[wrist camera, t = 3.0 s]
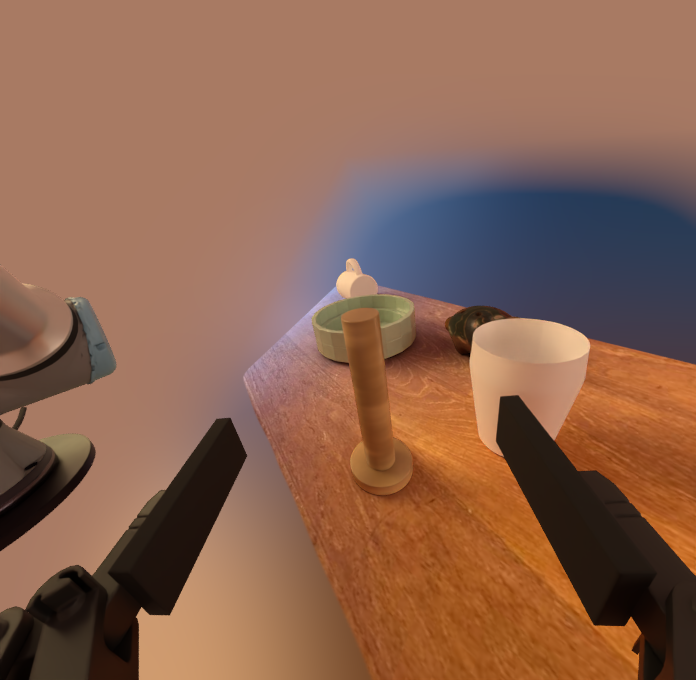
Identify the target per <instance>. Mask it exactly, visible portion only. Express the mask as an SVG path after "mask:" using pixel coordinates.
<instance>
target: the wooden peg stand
mask: <svg viewBox="0 0 696 680" xmlns="http://www.w3.org/2000/svg"><path fill="white" fill-rule="evenodd" d="M341 322H342V328H343V333H344V339H345V345H346V350H347V356H348V361H349V367H350V372H351V378H352V384H353V389H354V395H355V400H356V406H357V412H358V417H359V423H360V428H361V434H362V439H363V441H362V442H360V443H359V444H358V445H357V446H356V447H355V449H354V450H353V452H352V454H351V458H350V466H351V471H352V475H353V478H354V480H355V482H356V483H357V484H358V485H359V487H361V488H362V489H363V490H365V491H367V492H369V493H371V494H375V495H389V494H393V493H395V492H398V491H399V490H401V489H402V488H404V487H405V486H406V485H407V483H408V482H409V481H410V479H411V477H412V473H413V460H412V454H411V452H410V450H409V448H408V447H407V446H406V445H405V444H404V443H403V442H402V441H401V440H399V439H397V438H394V437H393V432H392V424H391V415H390V406H389V397H388V388H387V379H386V370H385V361H384V353H383V344H382V335H381V326H380V317H379V312H378V310H376V309H373V308H358V309H353V310H350V311H348V312H346V313H344V314H343V315H342V316H341Z"/></svg>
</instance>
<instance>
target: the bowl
mask: <svg viewBox="0 0 696 680" xmlns="http://www.w3.org/2000/svg"><path fill="white" fill-rule="evenodd" d="M358 308H373V309H376V310H378V312H379V317H380V326H381V335H382V344H383V353H384V359H386V358H389V357H391V356H394V355H396V354H398V353H400V352H402V351H404V350H405V349H406V348H408V347H409V346H410V345H412V343H413V341H414V339H415V338H416V325H415V308H414V304H413V302H411V301H410V300H409V299H407V298H404V297H400V296H396V295H387V294H373V295H364V296H357V297H352V298H347V299H343V300H340V301H337V302H334V303H331V304H329V305H327V306H325V307H323V308H322V309H320V310H319V311H317V312H316V313H315V314H314V316H313V317H312V324H313V329H314V333H315V337H316V342H317V346H318V351H319V352H320V353H321V354H323V355H324V356H325V357H327V358H329V359H332V360H335V361H339V362H346V363H349V361H348V356H347V350H346V345H345V339H344V333H343V328H342V322H341V316H342V315H343V314H344V313H346V312H348V311H350V310H353V309H358Z"/></svg>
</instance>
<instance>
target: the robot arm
mask: <svg viewBox="0 0 696 680" xmlns="http://www.w3.org/2000/svg"><path fill="white" fill-rule="evenodd" d="M115 369H116V361H115V358H114V355H113V352H112V350H111V347H110V345H109V343H108V340H107V338H106V336H105V334H104V331H103V329H102V327H101V325H100V323H99V321H98V319H97V317H96V315H95V313H94V311H93V308H92V306H91V305H90V303H89V301H88V300H87V299H85V298H82V297H78V298H72V297H71V298H67V299H65V300H63V299H62V298H61V297H59V296H58V295H56V294H55V293H53V292H51V291H49V290H46V289H44V288H41V287H38V286H34V285H29V284H22V283H21V282H20V281H19V280H18V279H17V278H15V277H14V276H13V275H12V274H11V273H10V272H9V271H7V270H6V269H5V268H4V267H3V266H2V265H0V415H2V414H4V413H6V412H9V411H12V410H15V409H18V408H20V407H21V409H20V411H19V415H18V418H17V420H16V422H15V424H14V425H13V427H12V428H10V427H8V426H7V425H5V423H3V421H2V420H1V419H0V519H1V518H2V517H4V516H5V515H6V514H8V513H9V512H11V511H12V510H13V509H15V508H16V507H17V506H19V505H20V504H21V503H23V502H24V501H25V500H26V499H28V498H29V497H30V496H31V495H32V494H33V493H34V492H36V491H37V490H38V489H39V488H40V487H41V486H42V485H43V484H44V483H45V482H46V481H47V479H48V478H49V477H50V476H51V475H52V473H53V472H54V470H55V469H56V467H57V465H58V461H59V458H58V455H57V454H56V453H55V452H54V450H53V449H52V448H51V447H49V446H48V445H46V444H45V443H43V442H40V441H38V440H36V439H34V438H32V437H30V436H28V435H25V434H23V433H21V432H19V431H17V430H18V429H19V427H20V425H21V424H22V422H23V419H24V417H25V414H26V410H27V407H23V406H26V405H29V404H32V403H34V402H37V401H40V400H43V399H45V398H48V397H51V396H54V395H57V394H59V393H62V392H65V391H68V390H70V389H73V388H76V387H79V386H82V385H84V384H91V383H93V382H94V381H95V380H97V379H100V378H102V377H105V376H107V375H109V374H111V373H113V371H114V370H115ZM496 443H497V444H498V446H499V448H500V450H501V452H502V454H503V456H504V458H505V459H506V461H507V463H508V465H509V467H510V469H511V471H512V473H513V474H514V476H515V478H516V480H517V482H518V484H519V486H520V488H521V489H522V491H523V493H524V495H525V497H526V499H527V501H528V503H529V504H530V506H531V508H532V510H533V512H534V514H535V516H536V518H537V519H538V521H539V523H540V525H541V527H542V529H543V531H544V533H545V534H546V536H547V538H548V540H549V542H550V544H551V546H552V548H553V549H554V551H555V553H556V555H557V557H558V559H559V561H560V562H561V564H562V566H563V568H564V570H565V572H566V574H567V576H568V577H569V579H570V581H571V583H572V585H573V587H574V589H575V591H576V592H577V594H578V596H579V598H580V600H581V602H582V604H583V606H584V607H585V609H586V611H587V613H588V615H589V617H590V619H591V621H592V622H593V624H594V625H603V626H625V625H626V623H627V622H628V620H629V618H630V617H632V618H633V620H634V621H635V623H636V625H637V626H638V628H639V629H640V631H641V632H642V633H641V635H640V636H639V638H638V639H637V641H636V642H635V644H634V646H633V649H632V651H633V652H634V653H636V654H637V655H638V653H639V670H638V680H696V576H695V575H694V574H693V573H692V572H691V571H690V569H689V568H688V567H687V566H686V565H685V564H684V563H683V561H682V560H681V559H680V558H679V557H678V556H677V555H676V553H675V552H674V551H673V550H672V549H671V548H670V547H669V546H668V544H667V543H666V542H665V541H664V540H663V539H662V538H661V536H660V535H659V534H658V533H657V532H656V531H655V530H654V528H653V527H652V526H651V525H650V524H649V523H648V522H647V520H646V519H645V518H644V517H642V516H641V514H640V512H639V511H638V510H637V509H636V508H635V507H634V506H633V504H632V503H629V500H628V499H627V498H626V496H625V495H624V494H623V493H622V492H621V491H620V490H619V489H618V487H617V486H616V485H615V484H614V483H612V482H611V481H610V480H608V479H607V478H606V477H604V476H603V475H601V474H600V473H599V472H597V471H577V470H576V468H575V467H574V466H573V464H572V463H571V462H570V461H569V459H568V458H567V457H566V455H565V454H564V453H563V452H562V450H561V449H560V448H559V447H558V445H557V444H556V443H555V441H554V440H553V439H552V438H551V436H550V435H549V434H548V432H547V431H546V430H545V429H544V427H543V426H542V425H541V423H540V422H539V421H538V420H537V418H536V417H535V416H534V415H533V413H532V412H531V411H530V409H529V408H528V407H527V406H526V404H525V403H524V402H523V400H522V399H521V398H520V397H519V395H512V396H500V403H499V413H498V423H497V433H496ZM246 457H247V454H246V452H245V450H244V448H243V445H242V443H241V441H240V438H239V436H238V434H237V432H236V429H235V427H234V425H233V423H232V420H231V418H222V419H216V421H215V422H214V423H213V425H212V426H211V428H210V429H209V430H208V432H207V433H206V435H205V436H204V437H203V439H202V440H201V442H200V443H199V444H198V446H197V447H196V449H195V450H194V452H193V453H192V454H191V456H190V457H189V459H188V460H187V461H186V463H185V464H184V466H183V467H182V468H181V470H180V471H179V472H178V474H177V476H176V477H175V478H174V480H173V481H172V482H171V484H170V485H169V487H168V488H167V489H166V490H161V491H159V492H158V493H157V494H156V495H155V496H154V497H152V498H151V499H150V500H149V501H148V502H147V503H146V505H145V506H144V507H143V509H142V510H141V511H140V513H139V514H138V515H137V518H136V519H134V521H133V522H132V523H131V525H130V526H129V529H128V530H126V532H125V533H124V534H123V536H122V537H121V538H120V540H119V541H118V542H117V544H116V545H115V546H114V548H113V549H112V550H111V552H110V553H109V554H108V556H107V557H106V559H105V560H104V561H103V562H102V564H101V565H100V566H99V568H98V569H97V570H96V572H95V573H94V574H93V575H92V576H91V575H90V574H89V573H88V572H87V571H86V570H85V569H84V568H83V567H81V566H79V565H75V566H70V567H68V568H66V569H63V570H62V571H60V572H58V573H57V574H55V575H54V576H53V577H51V578H50V579H49V580H48V581H47V582H45V583H44V584H43V585H42V586H41V587H40V588H39V589H38V590H37V592H36V593H35V594H34V596H33V597H32V598H31V599H30V601H29V603H28V605H27V607H26V609H25V610H24V609H22V608H20V607H12V608H9V609H6V610H4V611H3V612H1V613H0V680H139V671H138V669H139V658H138V657H139V624H138V620H137V618H136V616H137V614H138V612H139V610H140V609H141V607H142V608H143V609H144V610H145V611H146V612H147V613H148V614H149V615H170V613H171V612H172V610H173V608H174V606H175V603H176V601H177V599H178V597H179V595H180V593H181V591H182V589H183V587H184V585H185V583H186V581H187V579H188V577H189V574H190V573H191V570H192V568H193V566H194V564H195V562H196V560H197V558H198V556H199V554H200V552H201V550H202V548H203V546H204V544H205V542H206V539H207V537H208V535H209V533H210V531H211V529H212V527H213V525H214V523H215V521H216V519H217V517H218V515H219V513H220V511H221V509H222V507H223V505H224V502H225V501H226V498H227V496H228V494H229V492H230V490H231V488H232V486H233V484H234V482H235V480H236V478H237V476H238V474H239V471H240V469H241V468H242V466H243V463H244V461H245V459H246Z"/></svg>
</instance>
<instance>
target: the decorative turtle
mask: <svg viewBox="0 0 696 680" xmlns="http://www.w3.org/2000/svg"><path fill="white" fill-rule="evenodd" d="M515 318H518V317H512V316H510V315H509V314H508V313H506V312H504V311H502V310H500V309H497V308H494V307H490V306H472V307H468V308H465V309H462V310H461V311H459V312H457V313H456V314H455V315H454V316H452V317H449V318H448V319H447V320H446V322H445V327H446V329H447V330H448V331H449V333H450V336H451V338H452V340H453V342H454V345H455V347H456V350H457V351H458V352H459V353H460V354H467V353H469V352H470V353H471V349H472V339H473V333H474V331H475V330H476V329H477V328H478V327H480V326H481V325H483V324H486V323H488V322H492V321H496V320H502V319H515Z"/></svg>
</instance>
